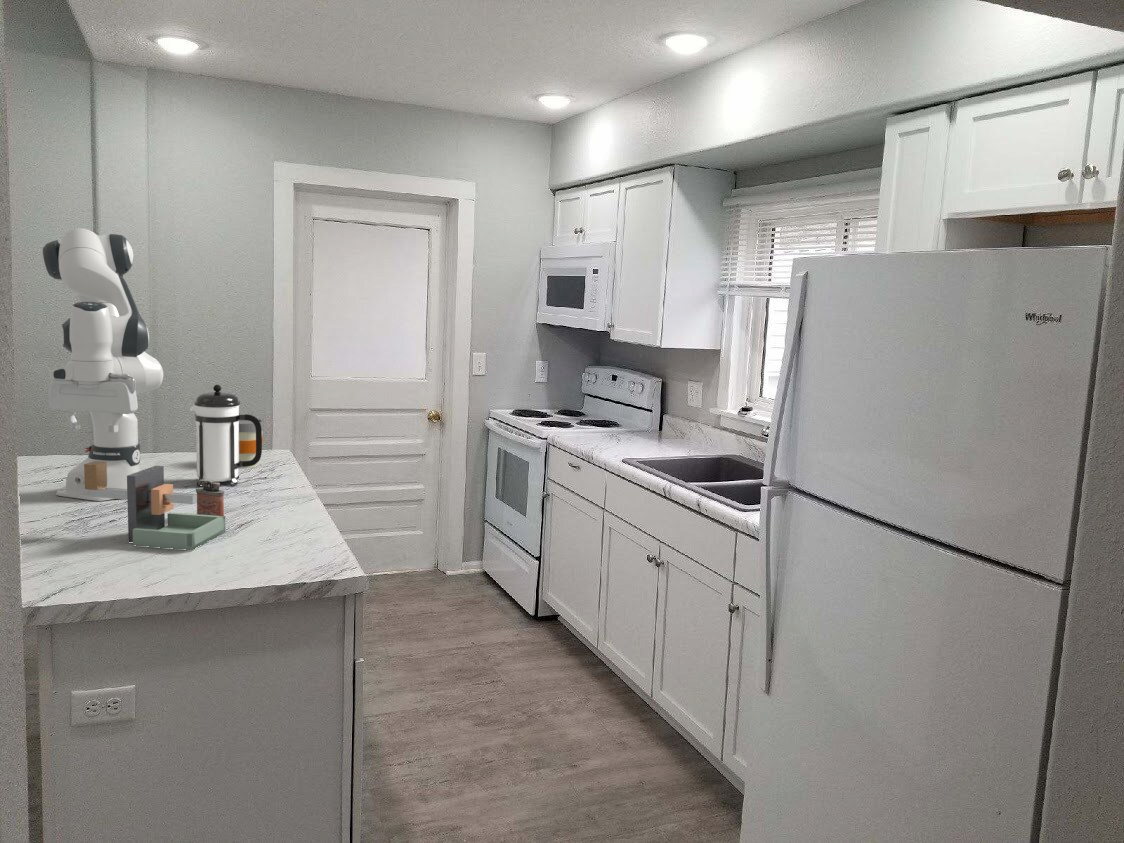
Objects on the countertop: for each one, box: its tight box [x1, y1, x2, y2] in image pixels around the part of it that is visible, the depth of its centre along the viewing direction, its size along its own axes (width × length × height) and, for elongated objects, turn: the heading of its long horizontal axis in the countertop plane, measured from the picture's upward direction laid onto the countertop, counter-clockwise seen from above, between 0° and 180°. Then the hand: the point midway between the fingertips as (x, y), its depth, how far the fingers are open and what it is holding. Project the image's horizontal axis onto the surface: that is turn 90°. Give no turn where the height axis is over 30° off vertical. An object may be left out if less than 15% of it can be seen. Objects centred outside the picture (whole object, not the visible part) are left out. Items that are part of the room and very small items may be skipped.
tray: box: [132, 511, 226, 551], centre depth 207 cm, size 14×16×4 cm
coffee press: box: [189, 384, 263, 487], centre depth 264 cm, size 17×16×30 cm
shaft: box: [84, 461, 197, 505], centre depth 206 cm, size 26×4×8 cm, turn 85°
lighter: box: [195, 479, 225, 516], centre depth 226 cm, size 8×3×10 cm, turn 71°
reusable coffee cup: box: [239, 418, 265, 469], centre depth 290 cm, size 13×13×15 cm
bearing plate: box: [126, 465, 166, 543], centre depth 207 cm, size 2×12×16 cm, turn 175°
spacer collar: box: [151, 483, 174, 515], centre depth 207 cm, size 2×6×6 cm, turn 175°
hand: (94, 430), depth 206 cm, fingers open, 8 cm apart
